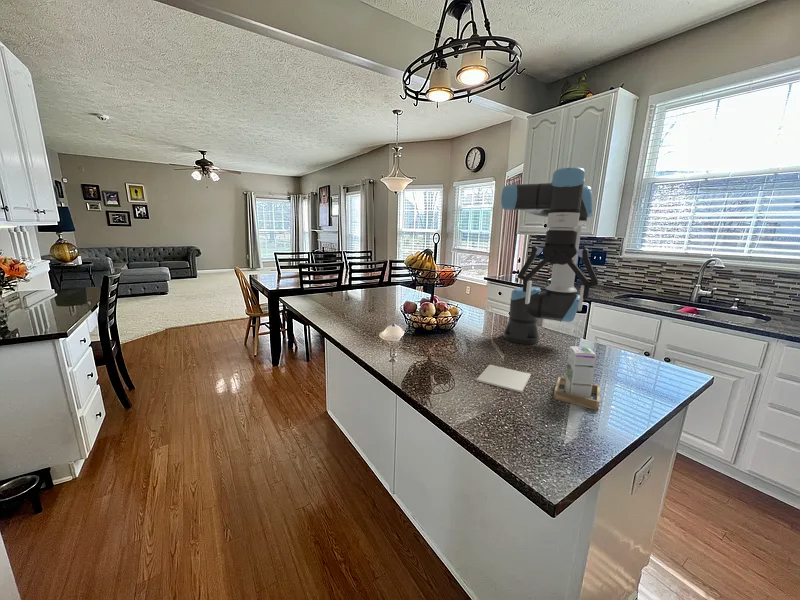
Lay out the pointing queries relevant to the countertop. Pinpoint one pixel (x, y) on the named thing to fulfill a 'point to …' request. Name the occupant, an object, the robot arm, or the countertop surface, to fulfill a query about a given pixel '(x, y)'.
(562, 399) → the corral
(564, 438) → the countertop surface
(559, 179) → the robot arm
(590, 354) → the syrup box
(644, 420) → the countertop surface
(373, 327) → the countertop surface
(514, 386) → the board
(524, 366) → the countertop surface
